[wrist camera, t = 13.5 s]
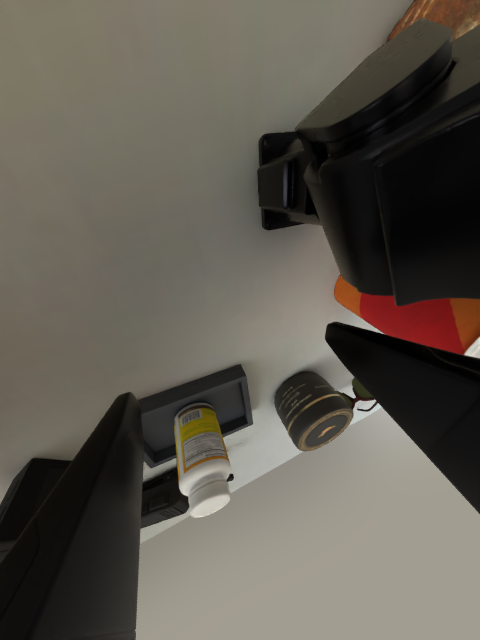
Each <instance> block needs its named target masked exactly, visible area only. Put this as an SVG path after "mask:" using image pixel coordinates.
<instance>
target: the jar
mask: <svg viewBox="0 0 480 640" xmlns="http://www.w3.org/2000/svg"><path fill="white" fill-rule="evenodd" d="M275 407H276V410H277V413H278V415H279V417H280V419H281V421H282V423H283V424H284V426H285V428H286V430H287V431H288V435H289V437H290V438H291V439H292V441H293V443H294V444H295V446H296V447H297V448H298V449H299V450H301V451H311V450H314V449H317V448H319V447H322V446H324V445H326V444H327V443H329V442H330V441H332V440H333V439H335V438H336V437H337V436H339V435H340V434H341V433H342V432H343V431H344V430H345V429H346V428H347V426H348V425H349V424H350V422H351V420H352V418H353V410H352V408H351V407H350V406H349V404H348V403H347V402H346V401H345V400H344V398H343V397H342V396H341V395H339V394H338V393H337V392H336V391H335V390H334V389H333V388H332V387H331V385H330V384H329V383H328V382H327V381H326V380H325V379H323V378H322V377H321V376H319V375H317V374H315V373H311V372H303V373H300V374H297V375H295V376H293V377H291V378H290V379H288V380H287V381H286V382H284V383H283V384H282V385H281V387H280V388H279V389H278V391H277V393H276V396H275Z"/></svg>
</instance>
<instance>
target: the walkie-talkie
mask: <svg viewBox="0 0 480 640" xmlns="http://www.w3.org/2000/svg"><path fill="white" fill-rule="evenodd" d="M233 479H234V476H233V474H230V475H229V477H228V478H227V482H229V481H232V480H233ZM188 501H189V498H188V496H186V495H183V494H182V493H181V491H180V489H179V480H178V469H177V470H175V471H172V472H169V473H167V474H164V475H162V476H160V477H158V478H156V479H155V480H153V481H151V482H149V483H147V484H145V485H143V486H142V502H141V524H140V529H141V528H144V527H147V526H150V525H153V524H156V523H159V522H161V521H163V520H167V519H170V518H173V517H176V516H179V515H181V514H184V513H186V512H187V510H188V508H189V502H188Z"/></svg>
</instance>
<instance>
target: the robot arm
mask: <svg viewBox="0 0 480 640" xmlns="http://www.w3.org/2000/svg"><path fill="white" fill-rule="evenodd" d="M295 131H296V132H284V133H269V134H265V135H263V136H262V137H261V138H260V140H259V166H260V167H259V169H258V171H257V172H258V193H259V206H260V207H261V211H262V227H263V228H264V229H265V230H273V229H279V228H284V227H289V226H294V225H299V224H304V223H307V224H313V225H319V226H322V227H323V230H324V232H325V235H326V237H327V240H328V243H329V245H330V248H331V250H332V253H333V255H334V258H335V261H336V263H337V266H338V268H339V271H340V273H341V275H342V277H343V279H344V280H345V281H346V282H348V283H349V284H350V285H352V286H353V287H355V288H356V289H357V291H358V292H361V293H365V294H368V295H377V296H394V300H395V304H396V306H405V305H409V304H412V303H416V302H420V301H425V300H435V299H444V298H465V299H480V24H479V25H478V26H476V27H474V28H473V29H471V30H470V31H468V32H467V33H465V34H463V35H462V36H460V37H459V38H457V39H456V40H454V41H453V30H452V28H450V27H447V26H444V25H441V24H439V23H436V22H433V21H430V20H427V19H425V18H420V19H418V20H417V21H415V22H414V23H412V24H411V25H410V26H408V27H407V28H406V29H404V30H403V31H402V32H400V33H399V34H398V35H396V36H395V37H394V38H392V39H391V40H390V41H388V42H387V43H386V44H384V45H383V46H382V47H380V48H379V49H378V50H376V51H375V52H374V53H372V54H371V55H370V56H368V57H367V58H366V59H365V60H364V61H363V62H362V63H361V64H360V65H359V66H358V67H357V68H356V69H355V70H354V71H353V72H352V73H350V74H349V75H348V76H347V77H346V78H345V79H344V80H343V81H342V82H341V83H340V84H339V85H338V86H337V87H336V88H335V89H334V90H333V91H332V92H331V93H330V94H329V95H328V96H327V97H326V98H325V99H324V100H323V101H322V102H321V103H320V104H319V105H318V106H317V107H316V108H315V109H314V110H313V111H312V112H311V113H310V114H309V115H308V116H307V117H306V118H305V119H304V120H303V121H302V122H301V123H299V124H298V125H297V126H296V128H295ZM264 140H266V141H267V143H268V145H267V147H265V146H264ZM268 221H269V223H270V224H269V226H268V227H267V222H268ZM325 340H326V342H327V343H328V345H329V346H330V347H331V349H332V350H333V351H334V353H335V354H336V355H337V357H338V358H339V359H340V361H341V362H342V363H343V364H344V366H345V367H346V368H347V369H348V370H349V371H350V373H351V374H352V375H353V376H354V377H355V378H356V379H357V380H358V381H359V382H360V383H361V385H362V386H363V387H364V388H365V389H366V390H367V391H368V392H369V393H370V394H371V395H372V397H373V398H374V399H375V400H376V401H377V402H378V403H379V404H380V405H381V406H382V407H383V409H384V410H385V411H386V412H387V413H388V414H389V415H390V416H391V417H392V418H393V420H394V421H395V422H396V423H397V424H398V425H399V426H400V427H401V428H402V429H403V430H404V431H405V433H406V434H407V435H408V436H409V437H410V438H411V439H412V440H413V441H414V442H415V444H416V445H417V446H418V447H419V448H420V449H421V450H422V451H423V452H424V453H425V454H426V456H427V457H428V458H429V459H430V460H431V461H432V462H433V463H434V464H435V466H436V467H437V468H439V470H440V471H441V472H442V473H443V474H444V475H445V476H446V478H447V479H448V480H449V481H450V482H451V483H452V484H453V485H454V486H455V487H456V489H457V490H458V491H459V492H460V493H461V494H462V495H463V496H464V497H465V498H466V500H467V501H468V502H469V503H470V504H471V505H472V506H473V507H474V508H475V509H476V510H477V511H478V513H479V514H480V358H476V357H471V356H467V355H463V354H458V353H454V352H450V351H446V350H442V349H438V348H435V347H431V346H427V345H423V344H419V343H415V342H412V341H408V340H404V339H400V338H396V337H393V336H389V335H385V334H381V333H377V332H374V331H370V330H366V329H362V328H358V327H355V326H351V325H347V324H343V323H339V322H333V323H330V324H328V325H327V328H326V334H325ZM143 457H144V444H143V430H142V416H141V407H140V404H139V402H138V401H137V399H136V398H135V396H134V395H133V394H132V393H131V392H127V393H124V394H121V395H119V396H118V397H117V398H116V400H115V401H114V402H113V404H112V405H111V407H110V408H109V410H108V411H107V412H106V414H105V415H104V417H103V418H102V419H101V421H100V422H99V424H98V425H97V427H96V428H95V429H94V431H93V432H92V434H91V435H90V437H89V438H88V439H87V441H86V442H85V444H84V445H83V447H82V448H81V449H80V451H79V452H78V454H77V455H76V457H75V458H74V459H73V461H72V462H71V464H70V465H69V467H68V468H67V469H66V471H65V472H64V474H63V475H62V477H61V478H60V479H59V481H58V482H57V484H56V485H55V487H54V488H53V489H52V491H51V492H50V494H49V495H48V497H47V498H46V499H45V501H44V502H43V504H42V505H41V507H40V508H39V509H38V511H37V512H36V516H35V517H33V518H32V519H31V521H30V522H29V523H28V525H27V526H26V528H25V529H24V531H23V532H22V533H21V535H20V536H19V538H18V539H17V540H16V542H15V543H14V545H13V546H12V547H11V549H10V550H9V552H8V553H7V554H6V556H5V557H4V559H3V560H2V561H1V563H0V640H135V638H136V632H135V629H136V613H137V612H136V611H137V591H138V569H139V545H140V524H141V502H142V480H143Z"/></svg>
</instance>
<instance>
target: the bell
mask: <svg viewBox="0 0 480 640" xmlns="http://www.w3.org/2000/svg"><path fill="white" fill-rule="evenodd" d="M420 18H425V19H427V20H430V21H433V22H436V23H439V24H441V25H444V26H447V27H450V28H452V30H453V41H454V40H456V39H457V38H459V37H460V36H462V35H463V34H465V33H467V32H468V31H470V30H471V29H473V28H474V27H476V26H478V25H479V24H480V0H414V2H413V3H412V5H411V6H410V8H409V9H408V10H407V12H406V13H405V15H404V16H403V17H402V18H401V19H400V20H399V22H398V23H397V24H396V26H395V27H394V29H393V31H392V32H391V34H390V36H389V38H388V40H387V42H388V41H390V40H391V39H392V38H394V37H395V36H396V35H398V34H399V33H400V32H402V31H403V30H404V29H406V28H407V27H408V26H410V25H411V24H412V23H414V22H415V21H417V20H418V19H420ZM387 42H386V43H387Z"/></svg>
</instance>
